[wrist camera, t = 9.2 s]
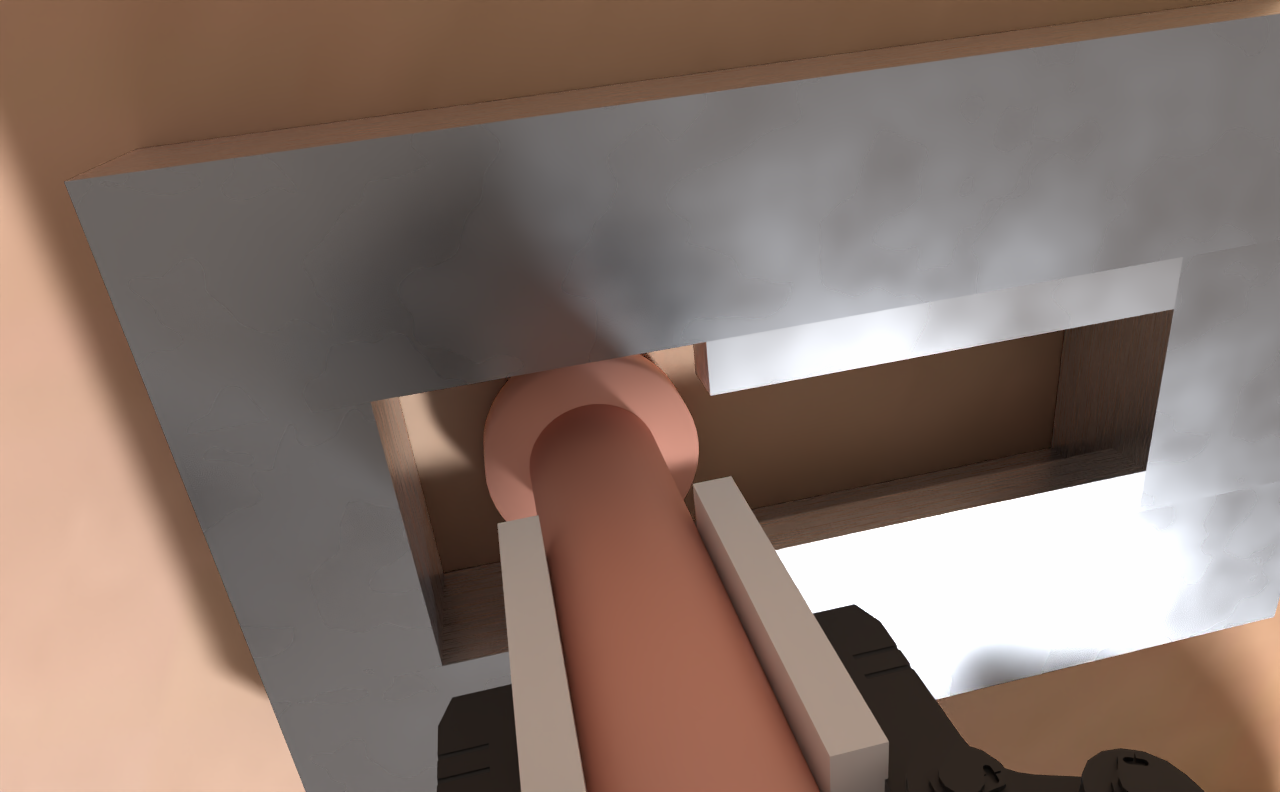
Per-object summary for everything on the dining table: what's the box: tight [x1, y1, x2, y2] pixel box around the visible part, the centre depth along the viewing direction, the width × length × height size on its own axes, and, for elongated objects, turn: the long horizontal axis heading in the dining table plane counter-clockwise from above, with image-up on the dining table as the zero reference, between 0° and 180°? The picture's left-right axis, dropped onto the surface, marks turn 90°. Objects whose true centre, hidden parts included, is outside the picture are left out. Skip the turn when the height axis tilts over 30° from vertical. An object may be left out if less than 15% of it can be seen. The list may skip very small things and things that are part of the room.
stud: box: [483, 354, 820, 792], centre depth 14 cm, size 5×5×16 cm
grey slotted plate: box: [64, 0, 1280, 792], centre depth 20 cm, size 26×16×4 cm, turn 96°
